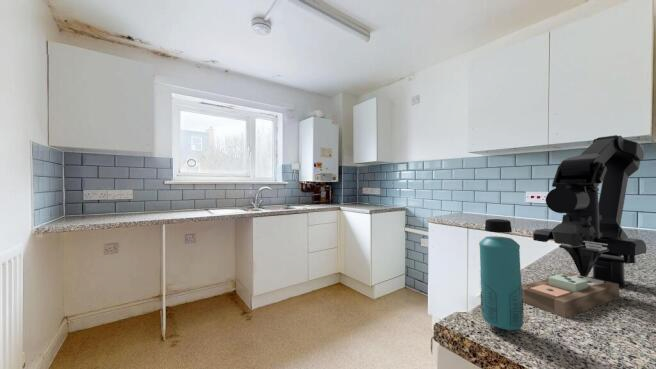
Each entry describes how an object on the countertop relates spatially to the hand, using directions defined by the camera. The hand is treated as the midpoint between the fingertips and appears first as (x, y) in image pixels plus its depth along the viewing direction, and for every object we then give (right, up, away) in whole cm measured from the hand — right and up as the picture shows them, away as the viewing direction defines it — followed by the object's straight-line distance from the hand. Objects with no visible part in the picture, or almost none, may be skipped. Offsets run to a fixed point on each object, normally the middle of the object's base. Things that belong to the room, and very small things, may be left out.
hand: (584, 276), depth 63 cm
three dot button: (-6, -2, -3) cm, 7 cm away
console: (-6, -4, -3) cm, 8 cm away
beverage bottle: (-29, -5, -15) cm, 33 cm away
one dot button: (-13, -4, -6) cm, 14 cm away
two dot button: (0, -3, 0) cm, 3 cm away
